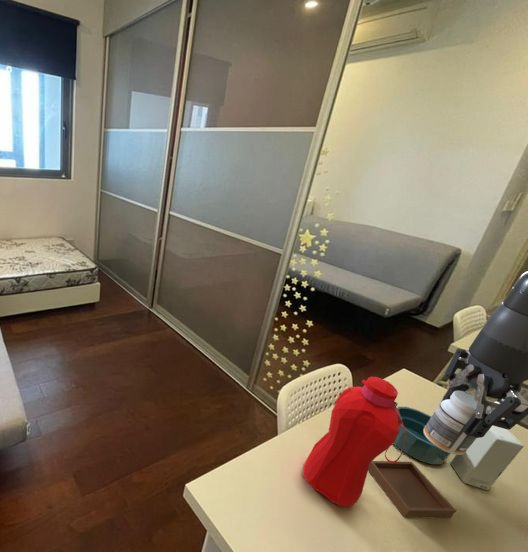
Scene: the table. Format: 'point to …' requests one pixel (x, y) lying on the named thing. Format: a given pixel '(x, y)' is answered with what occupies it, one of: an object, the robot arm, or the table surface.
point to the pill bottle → (452, 423)
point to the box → (487, 457)
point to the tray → (410, 490)
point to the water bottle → (354, 440)
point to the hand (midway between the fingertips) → (458, 419)
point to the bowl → (418, 437)
